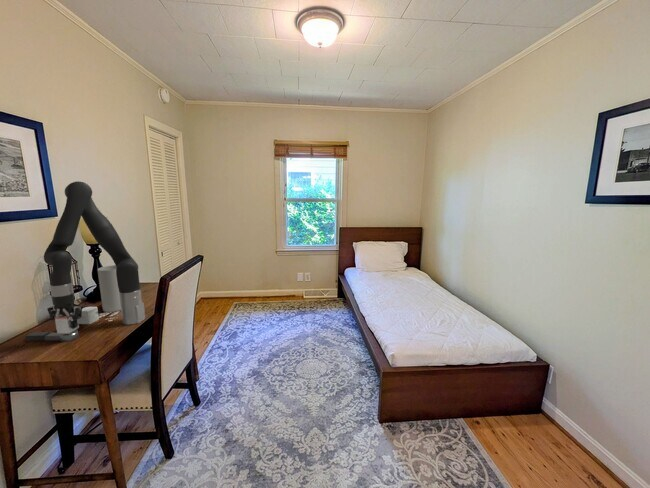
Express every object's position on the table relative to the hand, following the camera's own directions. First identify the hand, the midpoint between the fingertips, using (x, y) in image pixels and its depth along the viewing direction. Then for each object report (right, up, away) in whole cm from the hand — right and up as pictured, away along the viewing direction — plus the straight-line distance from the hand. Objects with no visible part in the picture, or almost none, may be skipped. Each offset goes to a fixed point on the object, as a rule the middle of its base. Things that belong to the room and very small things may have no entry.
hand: (67, 327), depth 130 cm
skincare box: (-6, -3, +18) cm, 19 cm away
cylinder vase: (-4, +1, +36) cm, 36 cm away
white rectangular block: (0, -1, 0) cm, 1 cm away
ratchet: (-7, -5, 0) cm, 9 cm away
